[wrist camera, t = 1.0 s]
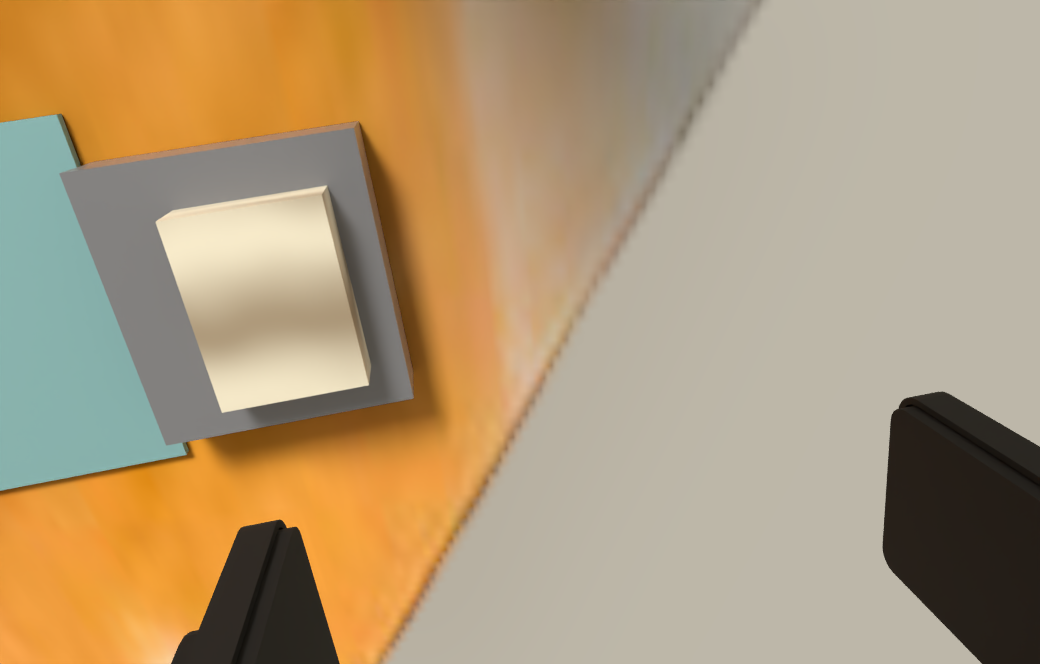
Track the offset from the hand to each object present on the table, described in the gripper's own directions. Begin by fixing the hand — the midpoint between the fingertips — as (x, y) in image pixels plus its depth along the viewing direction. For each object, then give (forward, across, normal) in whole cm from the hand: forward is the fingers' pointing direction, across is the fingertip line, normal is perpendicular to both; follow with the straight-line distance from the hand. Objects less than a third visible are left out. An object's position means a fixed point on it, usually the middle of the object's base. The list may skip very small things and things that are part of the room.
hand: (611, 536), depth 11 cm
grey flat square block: (+23, +10, 0) cm, 25 cm away
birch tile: (+20, +9, 0) cm, 22 cm away
